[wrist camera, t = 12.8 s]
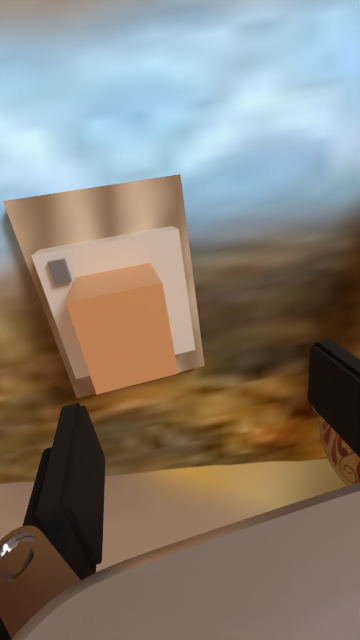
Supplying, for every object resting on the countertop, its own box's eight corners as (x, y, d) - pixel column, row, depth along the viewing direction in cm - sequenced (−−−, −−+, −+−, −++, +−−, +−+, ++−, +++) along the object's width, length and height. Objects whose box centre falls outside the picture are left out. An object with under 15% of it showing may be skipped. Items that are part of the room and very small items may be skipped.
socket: (172, 226, 29) (180, 229, 26) (188, 337, 34) (196, 352, 31) (38, 249, 27) (29, 256, 24) (78, 364, 33) (75, 382, 29)
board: (175, 175, 29) (180, 174, 27) (199, 357, 38) (204, 365, 37) (10, 200, 27) (3, 201, 25) (78, 388, 36) (76, 398, 34)
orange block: (147, 258, 29) (162, 282, 21) (160, 329, 32) (178, 373, 24) (78, 271, 28) (65, 302, 20) (99, 343, 31) (96, 394, 23)
